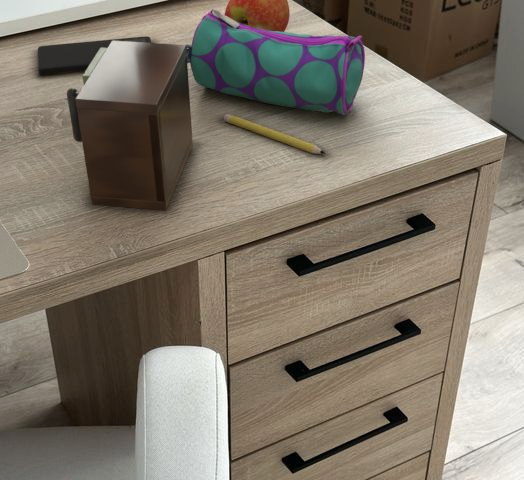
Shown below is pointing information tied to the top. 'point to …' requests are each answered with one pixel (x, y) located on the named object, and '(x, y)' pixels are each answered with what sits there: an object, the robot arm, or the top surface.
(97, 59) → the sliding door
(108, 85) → the cabinet
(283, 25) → the apple
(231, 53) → the pencil case
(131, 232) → the top surface
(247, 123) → the pencil
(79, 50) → the smartphone
